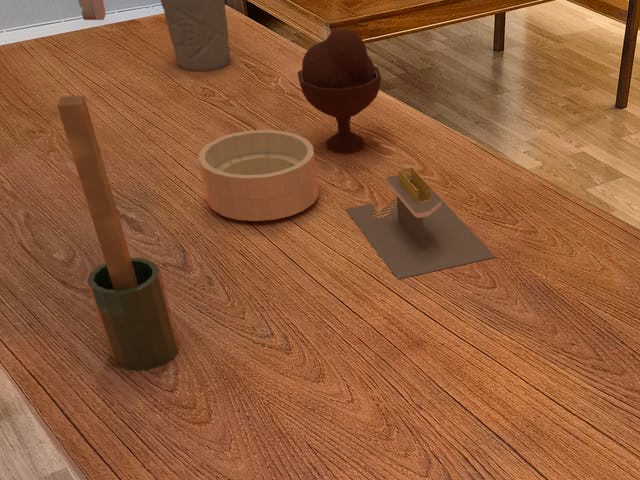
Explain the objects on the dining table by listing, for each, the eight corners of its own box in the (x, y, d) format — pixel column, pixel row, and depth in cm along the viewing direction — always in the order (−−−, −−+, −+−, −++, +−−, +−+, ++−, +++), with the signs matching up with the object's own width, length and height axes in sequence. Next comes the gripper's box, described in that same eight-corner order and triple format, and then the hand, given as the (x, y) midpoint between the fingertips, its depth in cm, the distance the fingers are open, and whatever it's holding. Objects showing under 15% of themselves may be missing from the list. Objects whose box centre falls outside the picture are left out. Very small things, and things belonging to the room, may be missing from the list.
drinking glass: (171, 74, 142) (153, -9, 134) (174, 52, 149) (157, -28, 141) (236, 70, 143) (222, -12, 135) (236, 49, 151) (223, -30, 142)
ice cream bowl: (378, 126, 128) (371, 13, 118) (389, 159, 120) (382, 41, 110) (304, 131, 126) (290, 17, 116) (310, 165, 119) (295, 46, 108)
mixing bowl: (205, 229, 105) (195, 181, 101) (211, 178, 115) (201, 132, 111) (321, 221, 107) (315, 173, 103) (317, 172, 117) (311, 127, 113)
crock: (110, 378, 84) (82, 296, 78) (118, 340, 89) (92, 259, 83) (177, 372, 85) (155, 290, 79) (182, 335, 90) (161, 254, 83)
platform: (434, 191, 113) (433, 140, 109) (495, 257, 102) (496, 203, 97) (344, 208, 110) (339, 157, 105) (397, 279, 98) (394, 224, 93)
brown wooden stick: (134, 361, 85) (55, 108, 69) (137, 342, 88) (62, 93, 71) (153, 359, 86) (79, 107, 69) (156, 341, 88) (85, 92, 71)
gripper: (132, -207, 64) (172, 4, 73) (-179, -212, 61) (-95, 8, 70) (121, -193, 59) (166, 29, 69) (-215, -198, 56) (-120, 35, 66)
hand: (32, 19), depth 70 cm, fingers open, 8 cm apart
